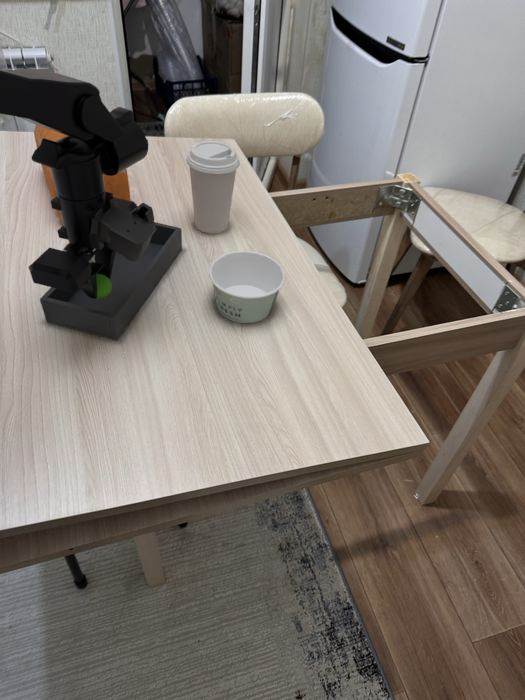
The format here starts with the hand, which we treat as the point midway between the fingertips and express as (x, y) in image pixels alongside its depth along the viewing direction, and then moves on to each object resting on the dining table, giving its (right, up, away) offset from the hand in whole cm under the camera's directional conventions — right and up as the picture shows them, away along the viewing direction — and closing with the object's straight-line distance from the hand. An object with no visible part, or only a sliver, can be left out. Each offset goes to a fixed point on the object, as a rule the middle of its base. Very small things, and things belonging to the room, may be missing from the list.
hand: (99, 290), depth 70 cm
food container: (+21, -1, +10) cm, 23 cm away
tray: (0, +3, +11) cm, 11 cm away
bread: (-13, +23, +30) cm, 39 cm away
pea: (0, -1, +1) cm, 1 cm away
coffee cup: (+13, +16, +26) cm, 34 cm away
